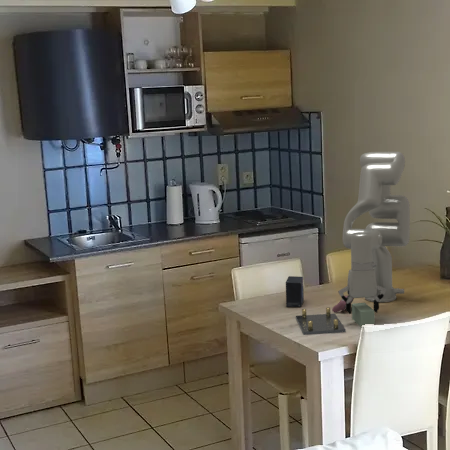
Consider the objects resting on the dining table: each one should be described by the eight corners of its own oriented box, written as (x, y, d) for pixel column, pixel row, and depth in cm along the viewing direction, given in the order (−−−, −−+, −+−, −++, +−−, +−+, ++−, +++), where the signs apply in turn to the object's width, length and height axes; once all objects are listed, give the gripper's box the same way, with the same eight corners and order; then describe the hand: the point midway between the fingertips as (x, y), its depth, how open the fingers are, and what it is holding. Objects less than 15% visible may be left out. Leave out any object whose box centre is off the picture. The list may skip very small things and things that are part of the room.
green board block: (365, 318, 268) (364, 302, 267) (374, 326, 257) (374, 310, 256) (352, 319, 268) (351, 303, 267) (361, 327, 257) (360, 311, 256)
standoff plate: (335, 315, 272) (334, 305, 271) (345, 332, 252) (345, 321, 252) (295, 318, 272) (295, 308, 271) (303, 334, 252) (303, 323, 251)
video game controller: (340, 317, 275) (347, 302, 273) (330, 311, 277) (337, 296, 274) (350, 310, 283) (357, 296, 281) (340, 304, 285) (347, 290, 283)
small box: (302, 307, 286) (301, 282, 284) (285, 307, 287) (284, 282, 285) (304, 300, 296) (303, 275, 294) (288, 300, 297) (287, 275, 296)
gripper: (382, 263, 263) (383, 308, 265) (336, 265, 262) (337, 311, 265) (388, 267, 255) (388, 313, 258) (340, 269, 255) (341, 316, 257)
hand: (362, 312), depth 261 cm, fingers open, 9 cm apart
